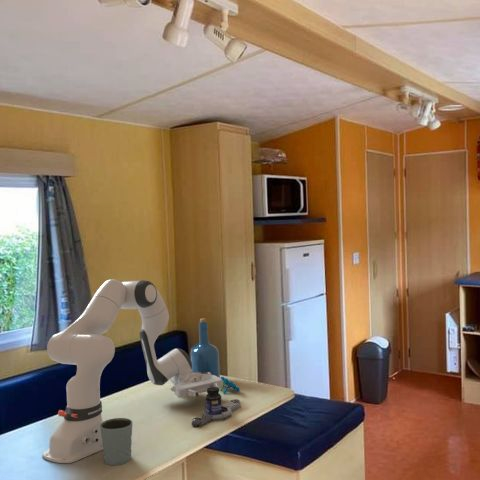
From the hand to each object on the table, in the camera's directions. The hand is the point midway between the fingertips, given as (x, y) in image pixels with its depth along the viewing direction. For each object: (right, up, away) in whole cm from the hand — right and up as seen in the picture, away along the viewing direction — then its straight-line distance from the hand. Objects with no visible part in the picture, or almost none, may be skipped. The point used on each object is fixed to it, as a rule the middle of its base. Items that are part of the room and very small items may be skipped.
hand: (207, 391), depth 223 cm
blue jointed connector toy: (+9, -6, +22) cm, 24 cm away
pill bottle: (+3, -8, -7) cm, 11 cm away
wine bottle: (-3, -6, +37) cm, 37 cm away
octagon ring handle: (+4, -8, -6) cm, 11 cm away
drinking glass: (-26, -11, -41) cm, 50 cm away
